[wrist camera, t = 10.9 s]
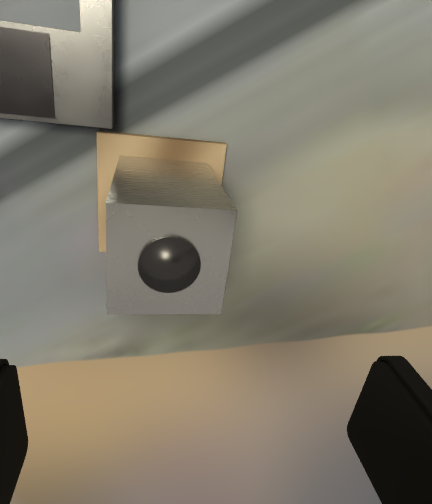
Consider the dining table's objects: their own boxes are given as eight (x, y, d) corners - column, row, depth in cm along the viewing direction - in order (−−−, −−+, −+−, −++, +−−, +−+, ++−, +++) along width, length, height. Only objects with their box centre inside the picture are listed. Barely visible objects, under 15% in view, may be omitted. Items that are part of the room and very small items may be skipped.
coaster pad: (224, 142, 24) (226, 144, 23) (211, 251, 27) (212, 255, 27) (97, 130, 22) (96, 132, 22) (100, 247, 26) (99, 251, 25)
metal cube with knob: (206, 162, 24) (238, 212, 16) (198, 239, 26) (221, 316, 18) (119, 155, 23) (105, 204, 15) (119, 235, 25) (106, 316, 17)
